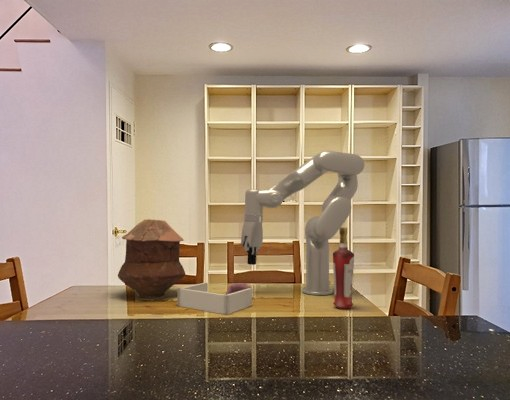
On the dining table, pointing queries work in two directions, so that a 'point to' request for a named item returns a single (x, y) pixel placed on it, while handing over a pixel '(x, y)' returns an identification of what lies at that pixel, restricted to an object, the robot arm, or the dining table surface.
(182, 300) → the bin
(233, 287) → the video game controller
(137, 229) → the pottery vessel
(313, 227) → the robot arm
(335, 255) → the red glass bottle
